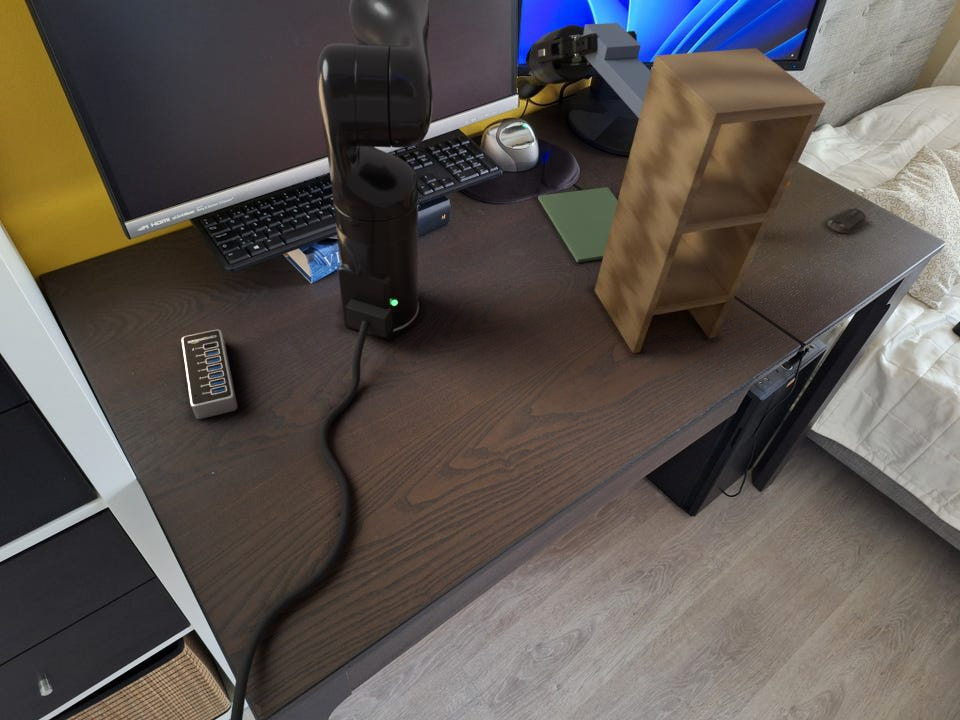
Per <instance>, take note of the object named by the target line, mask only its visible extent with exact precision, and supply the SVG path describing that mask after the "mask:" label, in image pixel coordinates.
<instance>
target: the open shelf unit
mask: <svg viewBox="0 0 960 720" xmlns="http://www.w3.org/2000/svg"><path fill="white" fill-rule="evenodd" d="M650 71H651V75H650V79H649V83H648V86H647V90H646V94H645V98H644V102H643V106H642V109H641V113H640V117H639V118H638V121H637V124H636V125H637V126H636V128H635V133H634V137H633V141H632V145H631V147H630V152H629V156H628V160H627V164H626V167H625V172H624V176H623V179H622V183H621V187H620V191H619V193H618V198H617V200H618V202H617V206H616V210H615V214H614V217H613V221H612V225H611V229H610V233H609V237H608V241H607V244H606V248H605V252H604V256H603V259H601V264H600V268H599V273H598V276H597V280H596V283H595V287H594V293H595V294H596V295H597V297H598V299H599V301H600V303H601V304H602V306H603V307H604V308H605V310H606V312H607V314H608V315H609V317H610V318H611V320H612V322H613V323H614V326H615V327H616V328H617V331H618V332H619V333H620V335H621V336H622V338H623V340H624V341H625V343H626V344H627V346H628V348H629V350H630V351H631V352H632V354H637V353H640V352H641V349H642V347H643V344H644V342H645V338H646V335H647V332H648V330H649V327H650V325H651V322H652V319H653V317H654V316H657V315H663V314H667V313H673V312H679V311H683V310H687V311H689V313H690V314H691V316H692V317H693V319H694V320H695V321H696V323H697V324H698V325H699V327H700V328H701V329H702V331H703V332H704V334H705V335H706V336H707V338H708V339H712V338H716V337H717V335H718V333H719V330H720V328H721V326H722V324H723V322H724V320H725V317H726V316H727V313H728V312H729V309H730V308H731V305H732V303H733V301H734V299H735V297H736V294H737V292H738V290H739V288H740V287H741V284H742V282H743V281H744V280H743V279H744V278H745V275H746V273H747V271H748V269H749V267H750V264H751V263H752V261H753V259H754V257H755V254H756V252H757V250H758V248H759V246H760V243H761V241H762V240H763V238H764V235H765V233H766V231H767V229H768V227H769V224H770V223H771V220H772V218H773V217H774V214H775V212H776V209H777V208H778V206H779V203H780V201H781V199H782V197H783V195H784V193H785V191H786V190H787V189H786V186H787V184H788V182H790V180H791V178H792V176H793V173H794V171H795V170H796V167H797V165H798V164H799V161H800V158H801V156H802V154H803V152H804V151H805V149H806V147H807V144H808V142H809V141H810V137H811V136H812V133H813V131H814V129H815V127H816V125H817V123H818V120H819V119H820V116H821V113H822V112H823V111H824V108H825V106H826V104H827V102H826V101H825V100H824V99H822V98H821V97H820V96H818V95H817V94H816V93H815V92H813V91H812V90H810V89H809V88H808V87H807V86H806V85H804V84H803V83H802V82H801V81H799V80H798V79H796V78H795V77H794V76H792V75H791V74H790V73H789V72H787V71H786V70H785V69H784V68H782V67H781V66H780V65H779V64H777V63H776V62H774V61H773V60H772V59H771V58H769V57H768V56H766V54H764V53H763V52H762V51H760V50H759V49H758V48H757V47H755V48H740V49H726V50H713V51H699V52H686V53H672V54H660V55H659V54H658V55H657V54H656V55H655V56H654V60H653V64H652V67H651V70H650Z"/></svg>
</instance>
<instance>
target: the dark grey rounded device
mask: <svg viewBox="0 0 960 720" xmlns="http://www.w3.org/2000/svg"><path fill="white" fill-rule="evenodd" d="M866 218H867V215H866V214H865V213H864V212H863V210H861V209H858V208H848V209H845V210H844V211H842V212H840V213H838V214H837V215H834V216H833V217H831V218H829V219H828V221H827V226H828V227H829V228H830V229H832V231H835V232H837V233H843V234H847V233H850V232H852V230H854V229H855V228H856V227H857V226H859V225H860V224H861V223H863V222H864V221H865V219H866Z"/></svg>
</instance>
